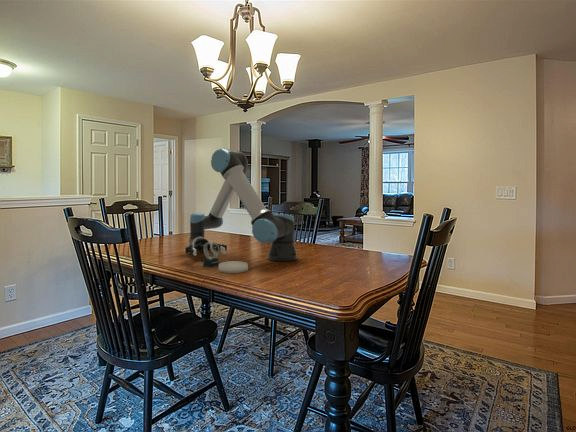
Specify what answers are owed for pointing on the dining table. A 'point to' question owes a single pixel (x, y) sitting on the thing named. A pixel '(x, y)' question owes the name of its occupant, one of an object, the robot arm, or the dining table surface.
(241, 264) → the display plinth
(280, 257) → the robot arm
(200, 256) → the dining table surface
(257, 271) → the dining table surface
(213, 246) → the watch
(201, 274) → the dining table surface
